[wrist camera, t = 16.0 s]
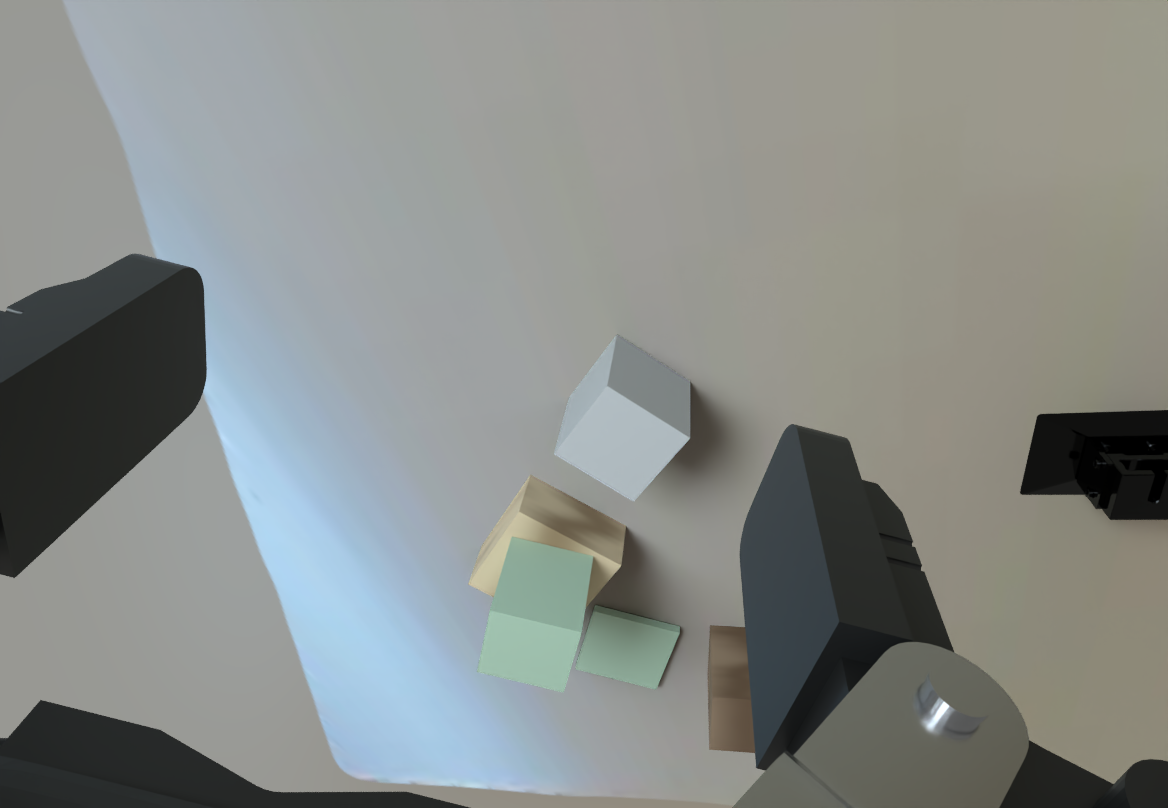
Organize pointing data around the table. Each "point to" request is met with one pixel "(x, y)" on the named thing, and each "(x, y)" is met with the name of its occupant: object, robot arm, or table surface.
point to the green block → (536, 615)
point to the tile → (627, 647)
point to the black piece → (1103, 461)
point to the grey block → (625, 419)
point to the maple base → (552, 535)
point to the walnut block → (729, 691)
